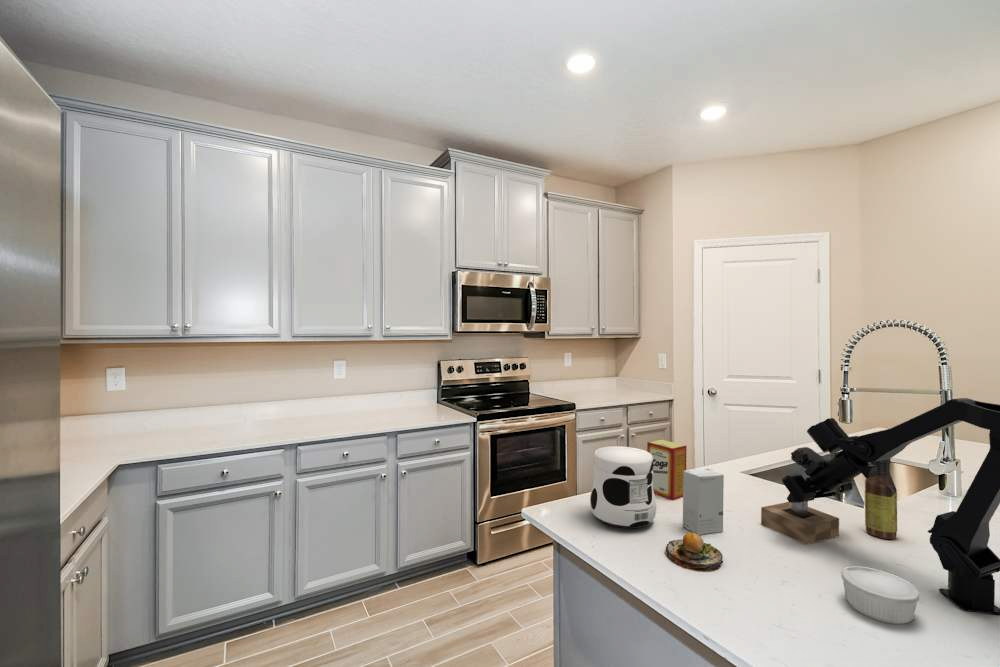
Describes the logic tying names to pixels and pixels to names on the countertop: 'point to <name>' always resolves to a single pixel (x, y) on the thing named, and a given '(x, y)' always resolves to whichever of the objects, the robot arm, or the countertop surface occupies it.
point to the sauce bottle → (881, 502)
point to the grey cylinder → (799, 509)
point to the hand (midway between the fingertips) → (794, 499)
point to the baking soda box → (668, 468)
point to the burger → (694, 553)
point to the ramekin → (880, 594)
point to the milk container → (623, 487)
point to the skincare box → (703, 501)
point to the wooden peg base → (800, 523)
